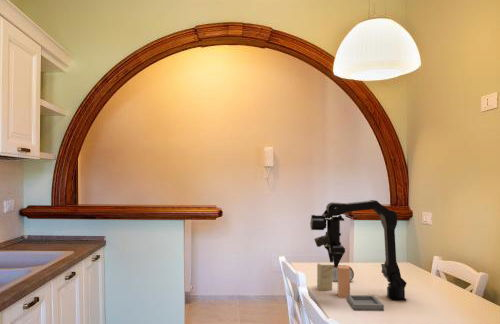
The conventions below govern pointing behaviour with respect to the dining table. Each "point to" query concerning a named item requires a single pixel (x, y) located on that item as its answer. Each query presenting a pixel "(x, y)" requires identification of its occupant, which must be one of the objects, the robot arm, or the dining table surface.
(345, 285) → the peach square prism
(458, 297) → the dining table surface
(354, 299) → the tray
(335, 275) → the tin
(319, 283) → the skincare box
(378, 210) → the robot arm
